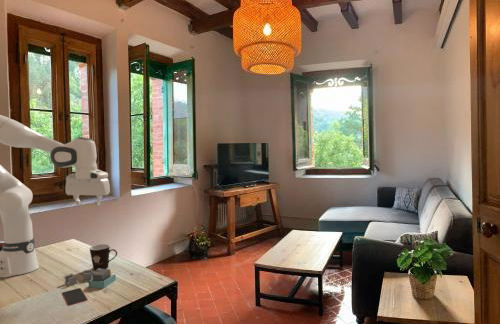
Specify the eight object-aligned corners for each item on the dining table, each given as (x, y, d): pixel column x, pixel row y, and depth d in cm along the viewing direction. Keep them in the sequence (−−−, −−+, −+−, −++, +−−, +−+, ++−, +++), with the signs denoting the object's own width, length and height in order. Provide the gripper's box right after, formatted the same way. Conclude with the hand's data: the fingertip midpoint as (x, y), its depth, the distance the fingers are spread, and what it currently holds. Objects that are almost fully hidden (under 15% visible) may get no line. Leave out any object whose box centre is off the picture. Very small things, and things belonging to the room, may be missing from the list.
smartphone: (67, 305, 126) (61, 292, 137) (67, 307, 126) (61, 294, 137) (88, 299, 130) (80, 287, 141) (88, 301, 130) (80, 289, 141)
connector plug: (93, 285, 142) (92, 274, 142) (108, 275, 152) (107, 265, 152) (102, 285, 142) (101, 274, 141) (116, 276, 151) (115, 265, 151)
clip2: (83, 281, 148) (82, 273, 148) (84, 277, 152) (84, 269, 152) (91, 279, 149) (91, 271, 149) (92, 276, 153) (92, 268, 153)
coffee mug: (86, 269, 161) (85, 248, 161) (102, 263, 169) (101, 243, 168) (104, 273, 156) (102, 251, 155) (119, 267, 163) (118, 246, 163)
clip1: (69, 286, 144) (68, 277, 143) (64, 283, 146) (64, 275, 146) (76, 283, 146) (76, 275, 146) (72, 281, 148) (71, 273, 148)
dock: (88, 287, 142) (88, 281, 142) (101, 279, 150) (101, 273, 150) (103, 288, 140) (103, 282, 140) (115, 280, 148) (115, 274, 148)
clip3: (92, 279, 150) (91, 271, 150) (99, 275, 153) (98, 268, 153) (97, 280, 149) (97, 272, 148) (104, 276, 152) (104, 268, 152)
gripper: (61, 174, 154) (62, 205, 155) (102, 174, 150) (104, 206, 151) (71, 173, 160) (72, 203, 161) (111, 173, 156) (112, 204, 157)
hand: (88, 205), depth 156 cm, fingers open, 8 cm apart
